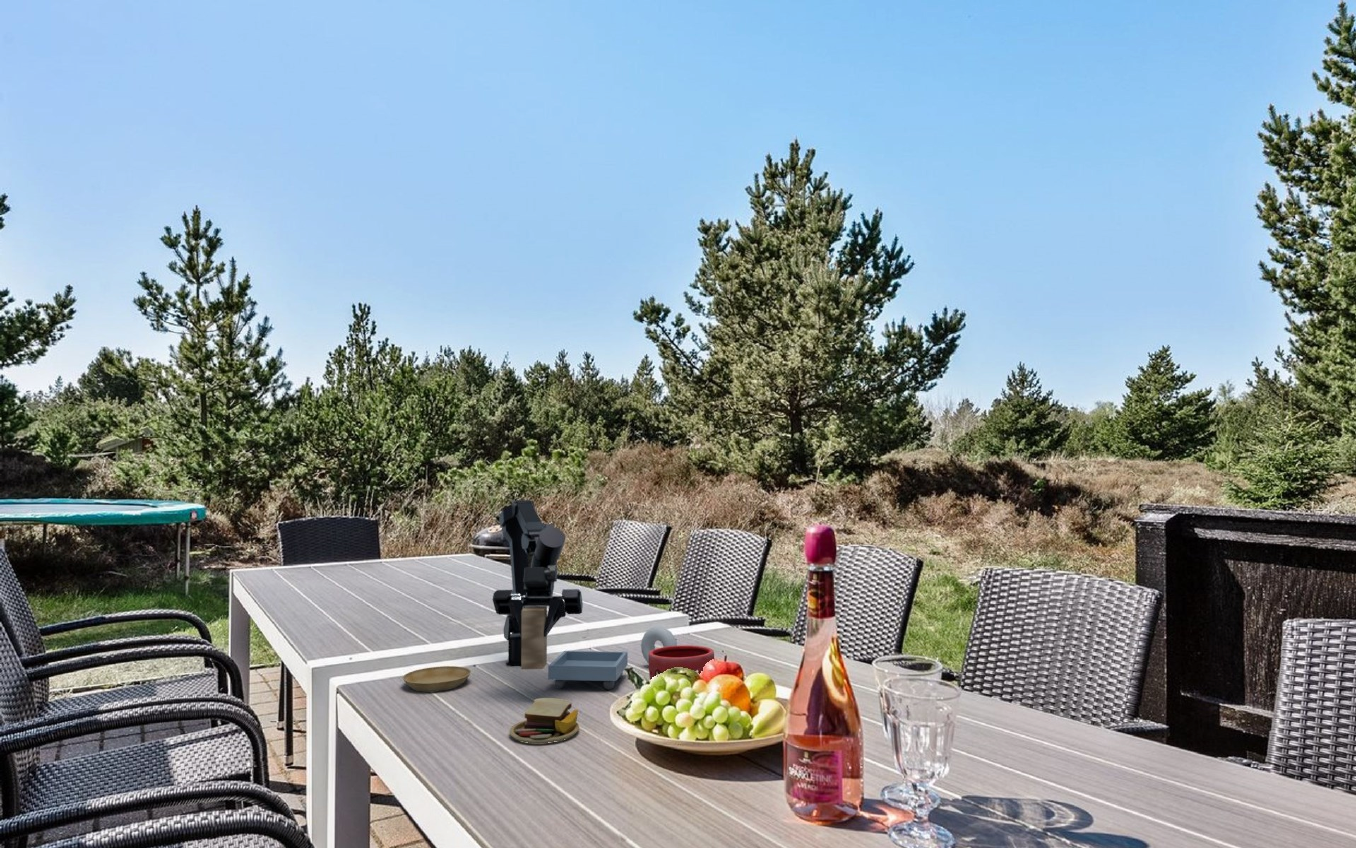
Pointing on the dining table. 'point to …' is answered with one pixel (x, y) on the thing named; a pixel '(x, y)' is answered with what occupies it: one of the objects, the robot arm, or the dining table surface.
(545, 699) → the toy sandwich meal
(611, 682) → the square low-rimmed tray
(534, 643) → the block
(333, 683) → the dining table surface
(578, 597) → the robot arm
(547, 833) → the dining table surface
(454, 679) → the plant saucer
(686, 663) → the plant pot
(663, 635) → the donut
